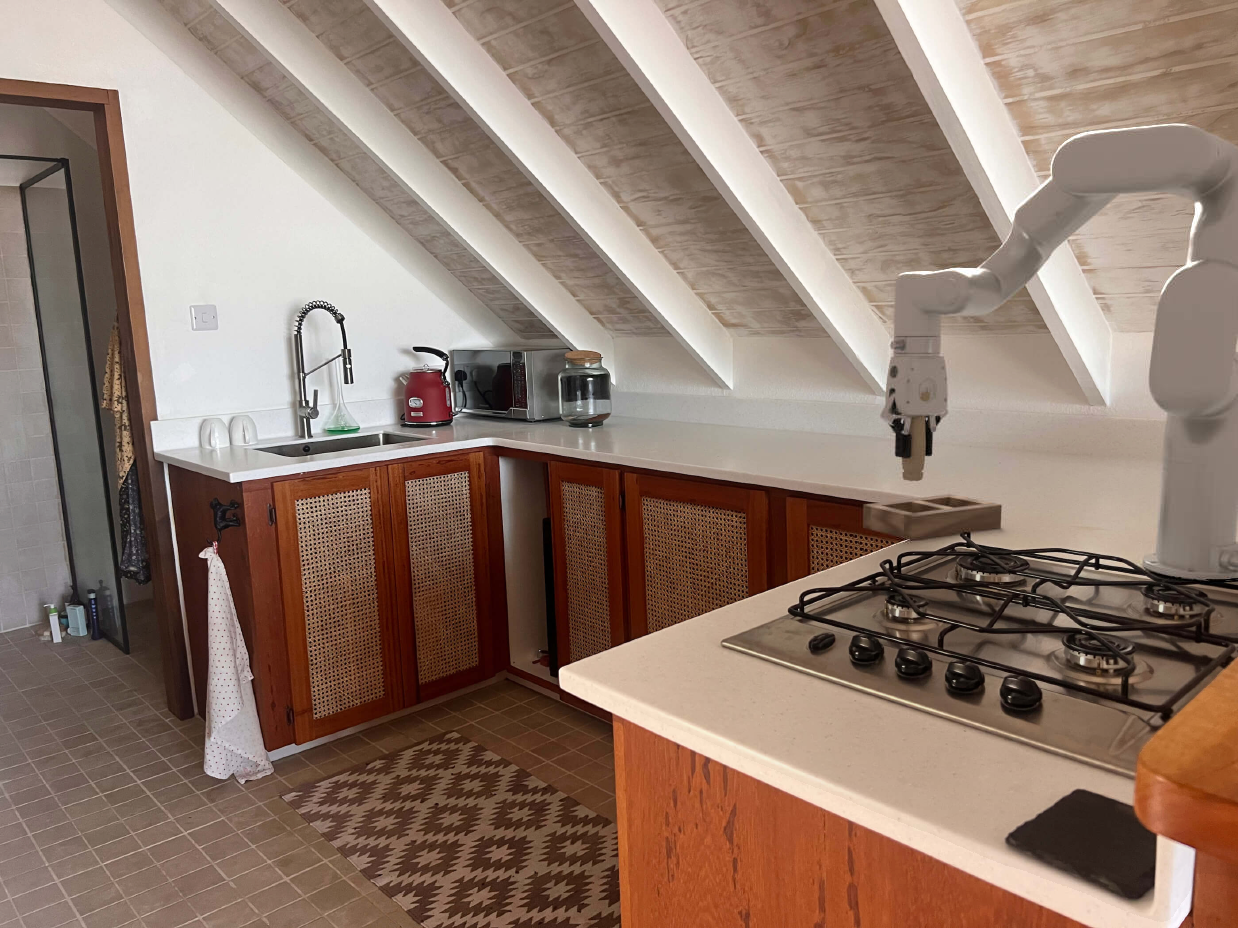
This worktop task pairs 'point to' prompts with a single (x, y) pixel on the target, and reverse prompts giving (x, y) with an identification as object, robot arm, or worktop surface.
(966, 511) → the grey rectangular tray
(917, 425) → the handle
